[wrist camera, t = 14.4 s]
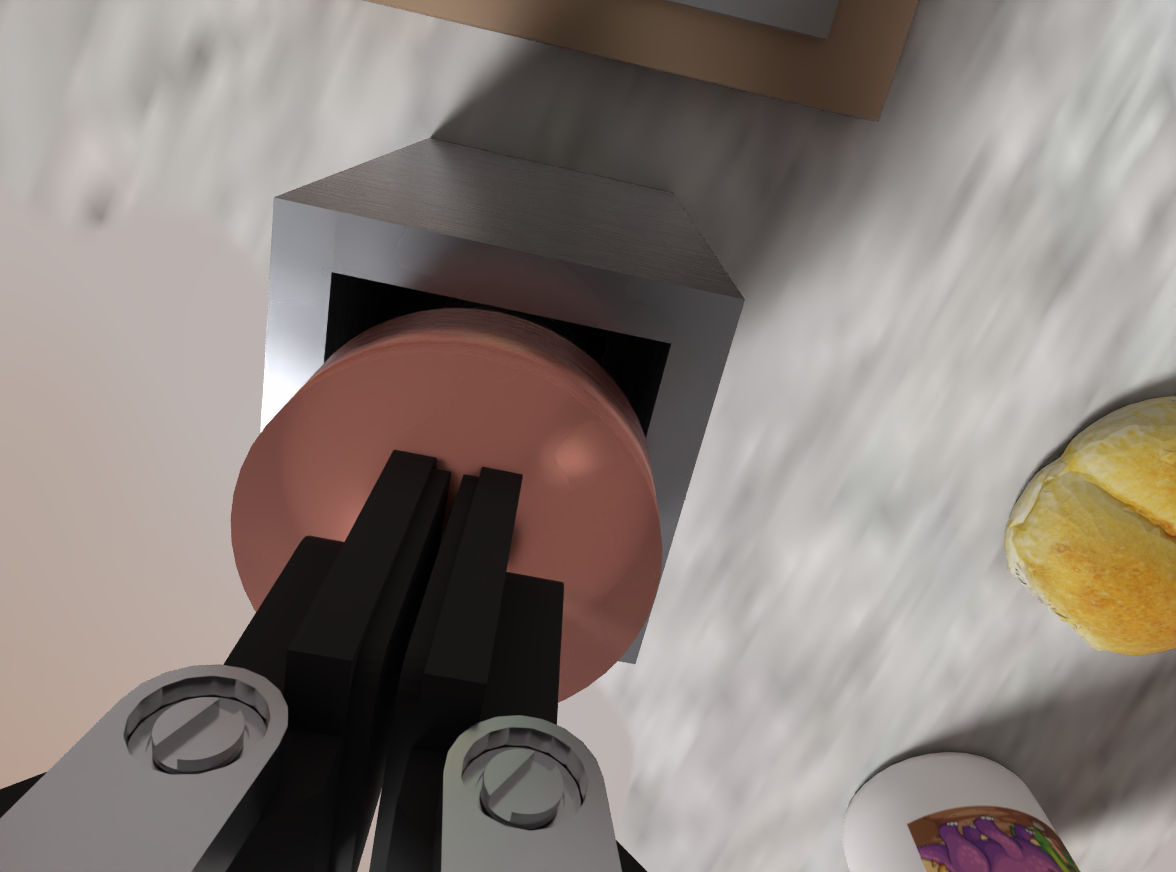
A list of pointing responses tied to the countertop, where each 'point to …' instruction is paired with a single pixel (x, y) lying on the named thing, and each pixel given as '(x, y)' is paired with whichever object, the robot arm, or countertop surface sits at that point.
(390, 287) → the column
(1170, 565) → the bread roll
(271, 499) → the push button
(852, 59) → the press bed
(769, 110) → the countertop surface
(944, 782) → the milk bottle
